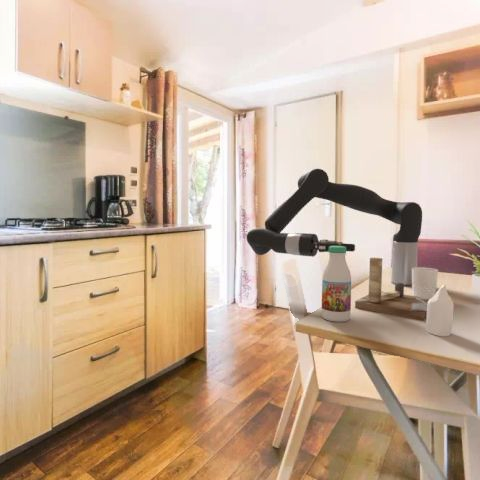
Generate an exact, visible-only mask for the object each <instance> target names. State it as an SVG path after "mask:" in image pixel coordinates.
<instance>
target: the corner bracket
mask: <svg viewBox="0 0 480 480" xmlns="http://www.w3.org/2000/svg"><path fill="white" fill-rule="evenodd" d="M411 310H412V311H427V303H426V302H424V301H423V300H419V303H411Z"/></svg>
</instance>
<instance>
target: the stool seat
mask: <svg viewBox="0 0 480 480" xmlns="http://www.w3.org/2000/svg"><path fill="white" fill-rule="evenodd" d="M386 292H387V291H382V290H381V294H382V293H386ZM368 299H369V294H367V295H365V296H363V297H361V298H359V299H357V300H355V303H354V308H355V309H361V310H366V311H372V312H376V313H382V314H388V315H393V316H398V317H404V318H409V319H413V320H414V319H415V320H419V321H425V319H427V311H412V310H411V303H419V300H423V301H424V302H426V303H427V304H428V301H429V300H430V299H431V298H424V297H417V296H412V295H411V294H410V295H409V294H404V296H403V297H398V296H397V297H393V298H388V299H384V300H381V302H379V303H375V302H370V301H368Z"/></svg>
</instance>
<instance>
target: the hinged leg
mask: <svg viewBox="0 0 480 480" xmlns="http://www.w3.org/2000/svg"><path fill="white" fill-rule="evenodd" d="M368 273H369V276H368V277H369V278H368V283H369V284H368V295H369V299H368V301H370V302H375V303H379V302H381V300H384V299H388V298H393V297H397V296H398V297H403V296H404V295H405V294H404V293H405V290H404V289H405V285H404V283H395V284H394V290H392V291H391V290H390V291H385V292H386V293H382V294H381V291H382V283H383V282H382V279H383V258H381V257H369V272H368Z"/></svg>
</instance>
